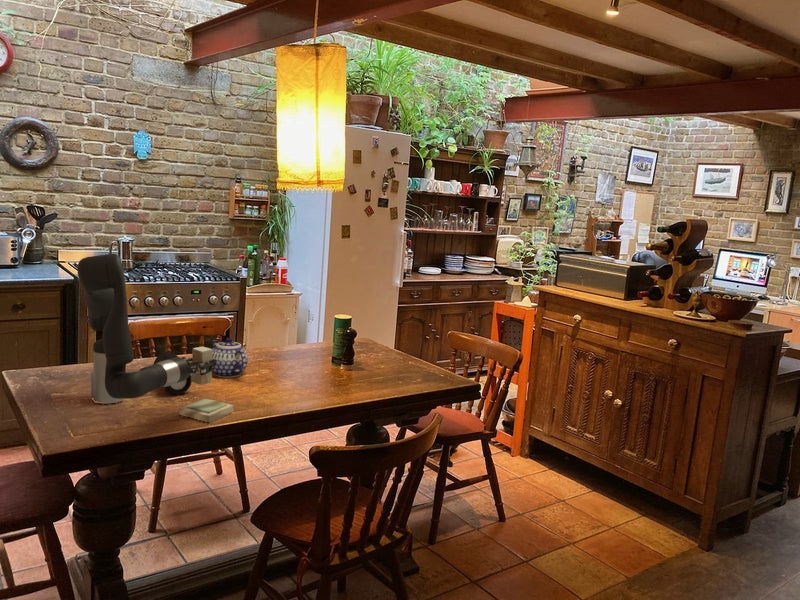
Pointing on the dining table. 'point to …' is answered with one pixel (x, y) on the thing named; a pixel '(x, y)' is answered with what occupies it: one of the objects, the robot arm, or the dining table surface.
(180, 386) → the portable speaker
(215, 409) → the birch base
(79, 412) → the dining table surface
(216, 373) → the teapot
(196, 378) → the box
